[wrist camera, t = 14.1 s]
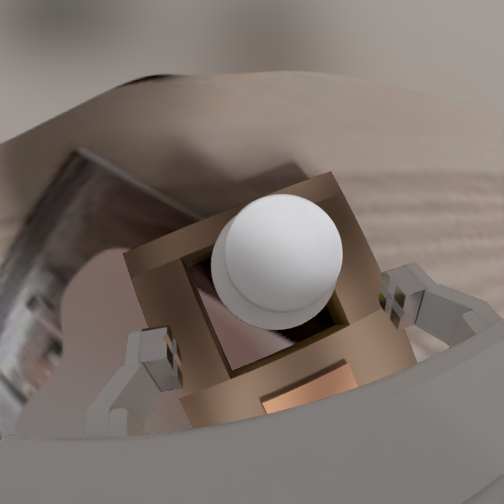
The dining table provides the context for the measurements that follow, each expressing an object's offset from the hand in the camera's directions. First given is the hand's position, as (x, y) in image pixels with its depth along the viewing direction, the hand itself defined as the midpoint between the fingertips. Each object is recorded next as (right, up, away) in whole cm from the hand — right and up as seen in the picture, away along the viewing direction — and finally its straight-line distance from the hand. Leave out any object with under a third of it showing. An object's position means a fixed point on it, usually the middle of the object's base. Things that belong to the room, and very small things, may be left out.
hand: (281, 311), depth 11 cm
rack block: (+1, -4, +8) cm, 9 cm away
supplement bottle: (0, 0, +9) cm, 9 cm away
